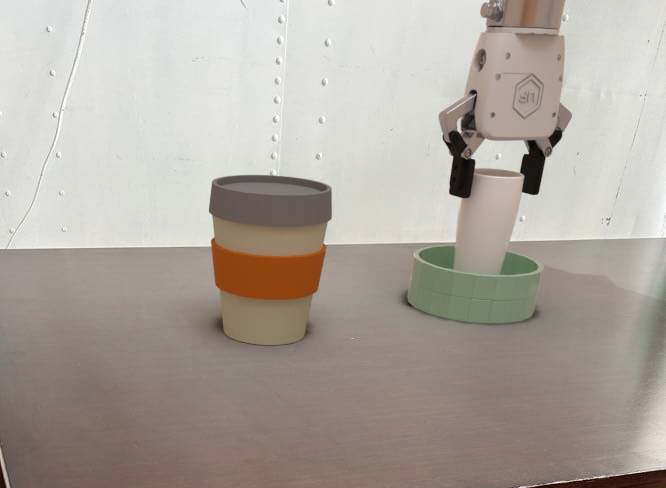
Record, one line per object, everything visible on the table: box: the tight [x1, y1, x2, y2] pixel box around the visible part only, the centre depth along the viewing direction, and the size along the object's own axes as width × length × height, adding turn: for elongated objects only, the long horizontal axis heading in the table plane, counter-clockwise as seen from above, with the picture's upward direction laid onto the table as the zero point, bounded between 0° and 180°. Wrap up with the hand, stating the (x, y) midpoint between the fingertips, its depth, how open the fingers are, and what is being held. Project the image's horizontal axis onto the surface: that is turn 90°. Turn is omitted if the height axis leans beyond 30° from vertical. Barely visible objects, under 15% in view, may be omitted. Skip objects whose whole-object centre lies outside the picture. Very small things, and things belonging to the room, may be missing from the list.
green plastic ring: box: [407, 244, 545, 324], centre depth 99 cm, size 15×15×6 cm
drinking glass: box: [453, 167, 524, 275], centre depth 96 cm, size 7×7×15 cm
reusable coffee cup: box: [208, 174, 333, 346], centre depth 86 cm, size 13×13×15 cm
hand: (493, 194), depth 94 cm, fingers open, 9 cm apart
